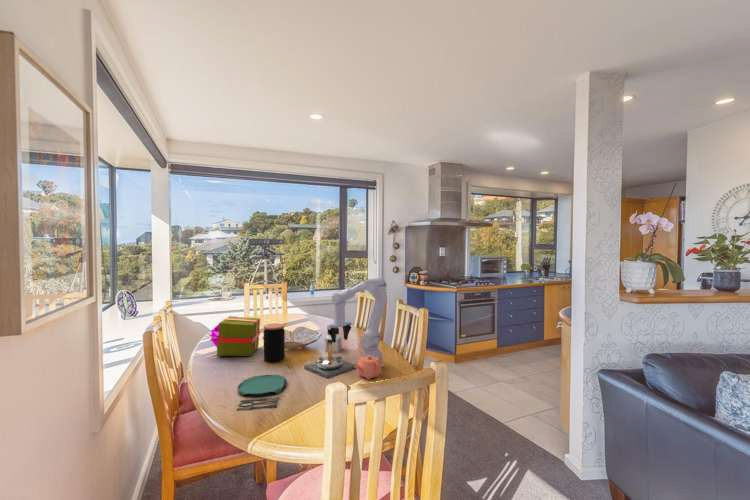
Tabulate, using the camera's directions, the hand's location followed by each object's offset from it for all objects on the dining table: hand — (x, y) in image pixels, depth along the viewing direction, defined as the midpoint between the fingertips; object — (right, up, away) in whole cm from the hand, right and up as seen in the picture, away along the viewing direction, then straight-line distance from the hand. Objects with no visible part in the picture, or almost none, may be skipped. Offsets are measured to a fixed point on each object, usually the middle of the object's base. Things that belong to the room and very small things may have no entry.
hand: (339, 340), depth 184 cm
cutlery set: (-28, -11, -42) cm, 52 cm away
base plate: (-3, -10, -15) cm, 18 cm away
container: (-5, -9, +15) cm, 18 cm away
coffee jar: (-35, -10, -1) cm, 36 cm away
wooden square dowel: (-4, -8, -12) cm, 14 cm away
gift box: (-61, -10, +11) cm, 62 cm away
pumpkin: (+15, -10, -26) cm, 32 cm away
